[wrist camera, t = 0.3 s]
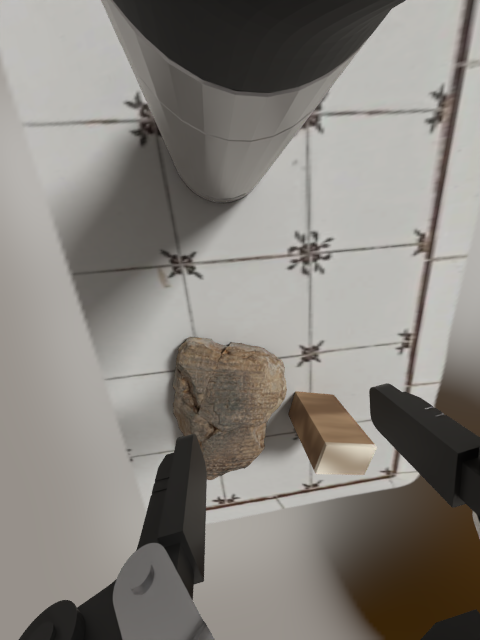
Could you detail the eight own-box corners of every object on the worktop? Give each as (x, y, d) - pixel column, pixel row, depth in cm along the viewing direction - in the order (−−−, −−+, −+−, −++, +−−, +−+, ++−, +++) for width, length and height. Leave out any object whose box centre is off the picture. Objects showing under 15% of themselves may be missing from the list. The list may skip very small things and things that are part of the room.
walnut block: (295, 391, 31) (326, 445, 23) (333, 394, 32) (377, 447, 24) (288, 414, 33) (315, 473, 24) (325, 417, 34) (364, 474, 25)
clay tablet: (256, 460, 35) (290, 347, 29) (261, 493, 30) (304, 367, 24) (164, 454, 33) (181, 331, 27) (156, 489, 28) (174, 349, 22)
